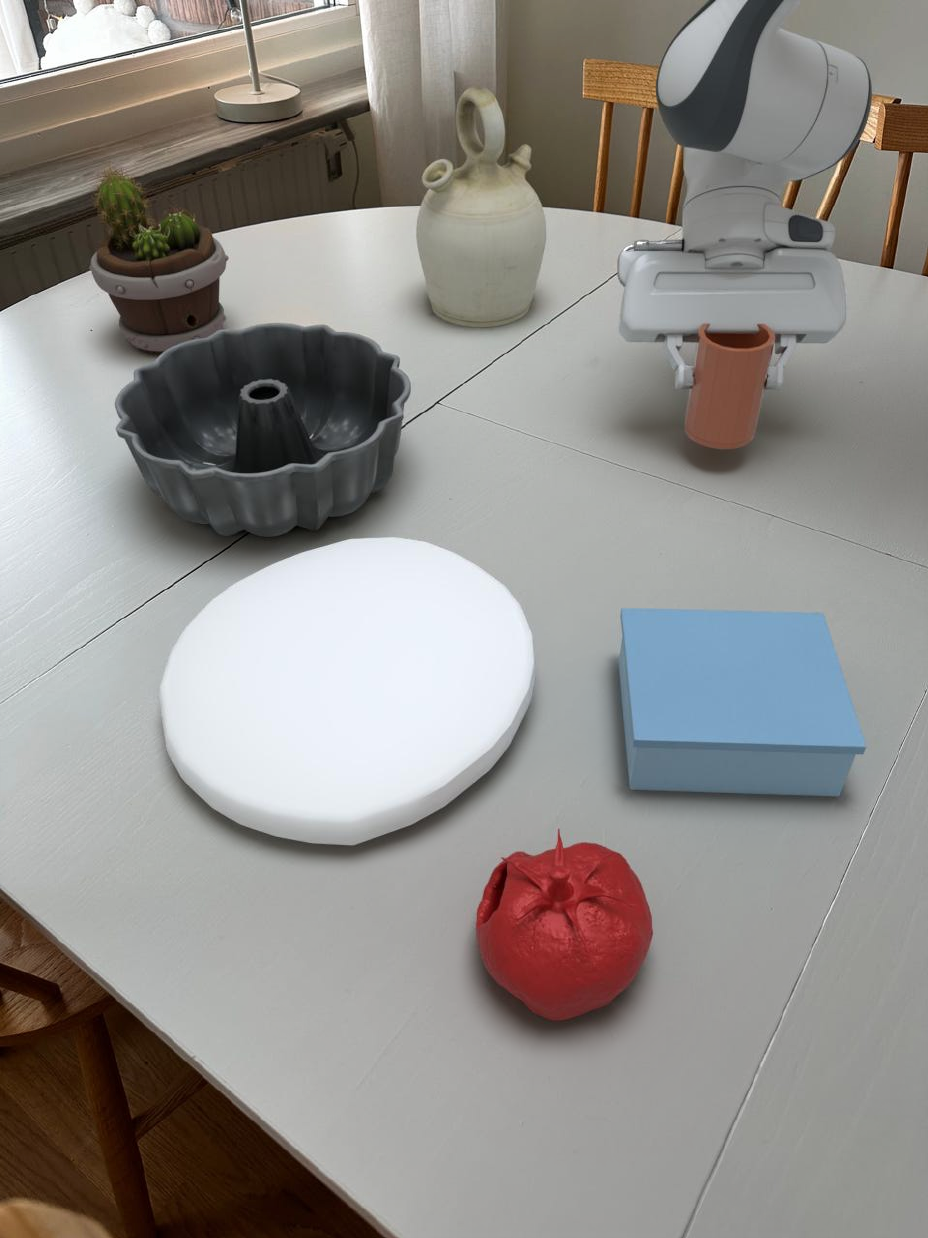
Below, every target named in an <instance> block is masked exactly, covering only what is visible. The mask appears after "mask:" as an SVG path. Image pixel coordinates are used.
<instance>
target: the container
mask: <svg viewBox="0 0 928 1238" xmlns="http://www.w3.org/2000/svg"><path fill="white" fill-rule="evenodd" d="M619 615H620V627H621V642H620V651H619V658H618V674H619V685H620V695H621V706H622V707H621V708H622V718H623V728H624V729H623V730H624V739H625V740H624V741H625V750H626V764H627V772H628V773H627V775H628V784H629V790H632V791H659V792H660V791H661V792H663V791H664V792H666V791H667V792H693V793H722V794H748V795H749V794H753V795H754V794H755V795H781V796H782V795H783V796H808V797H809V796H811V797H812V796H814V797H840V796H841V793H842V790H843V787H844V785H845V783H846V780H847V778H848V775H849V773H850V770H851V769H852V765H853V763H854V761H855V758H856V756H857V755H864V754H865V752H866V749H867V743H866V742H865V741H866V740H865V738H864V735H863V732H862V729H861V726H860V723H859V720H858V716H857V713H856V710H855V707H854V704H853V700H852V697H851V695H850V690H849V688H848V685H847V682H846V679H845V677H844V673H843V670H842V667H841V664H840V661H839V658H838V654H837V650H836V648H835V646H834V642H833V639H832V636H831V632H830V630H829V629H830V628H829V627H828V623H827V621H826V617H825V614H824V613H823V612H805V611H804V612H801V611H800V612H799V611H798V612H797V611H792V612H791V611H762V610H761V611H760V610H759V611H758V610H722V609H721V610H720V609H719V610H717V609H716V610H715V609H681V608H680V609H679V608H678V609H676V608H640V607H639V608H638V607H637V608H635V607H632V608H631V607H621V608H620V614H619Z"/></svg>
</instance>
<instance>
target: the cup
mask: <svg viewBox="0 0 928 1238" xmlns="http://www.w3.org/2000/svg"><path fill="white" fill-rule="evenodd" d="M709 325H710V324H702V325H701V327H700V329H699V330H698V336H697V343H695V349H694V350H695V351H694V357H693V364H692V366H694V374H693V376H694V386H693V387H692V388H691V389H688V390H689V391H688V397H687V403H686V409H685V415H684V416H685V417H684V432H685V434H686V435H687V437H688V438H689V439H690V440H692V441H693V442H694V443H696V444H699V445H701V446H703V447H707V448H711V449H716V450H732V449H738V448H743V447H744V446H746V445H748V444H750V443H751V442H752V441H753V439H754V438H755V435H756V431H757V427H758V423H759V417H760V413H761V409H762V404H763V399H764V393H765V391H766V389H765V385H766V380H767V375H768V371H769V366H771V362H772V361H771V360H772V356H773V351H774V348H775V343H774V342H775V335H774V332H773V330H772V329H770V328H769V327H768V326H766V325H765V324H757V326H758V328H759V332H758V333H756V334H708V333H707V329H708V327H709Z"/></svg>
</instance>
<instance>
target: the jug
mask: <svg viewBox="0 0 928 1238" xmlns="http://www.w3.org/2000/svg"><path fill="white" fill-rule="evenodd" d="M476 109H477V110H478V113H479V115H480V118H481V121H482V127H483V131H484V132H483V133H484V145H483V143H482V142H481V140H480V137H479V134H478V131H477V125H476ZM455 125H456V133H457V138H458V141H459V144H460V146H461V148H462V151H464V153H465V156H466V160H465V162H464V164H462V165H461V166H460V167H457V168H455V169H454V166H453V163H452V161H450V160H449V159H447V158H439V159H437V160H435V161H433V162H431V163H430V164H429V165H428V166H427V167H426V168H425V170H424V171H423V174H422V176H421V183H422V185H423V186H424V187H425V189H428V190H427V191H426V193H425V195H424V196H423V200H422V201H421V204H420V207H419V211H418V214H417V219H416V226H415V227H416V228H415V235H416V236H415V237H416V246H417V253H418V256H419V260H420V261H419V262H420V265H421V269H422V273H423V276H424V280H425V281H424V282H425V285H426V292H427V296H428V299H429V303H430V304H431V309H432V312H433V313H434V315H436V317H437V318H439V319H441V320H442V321H445V322H447V323H450V324H452V325H455V326H456V325H457V326H461V327H467V328H493V327H500V326H504V325H508V324H511V323H513V322H515V321H518V320H520V319H522V318H523V317H524V316H526V314H528V312H529V310H530V307H531V303H532V301H533V297H534V294H535V291H536V288H537V283H538V279H539V276H540V273H541V268H542V264H543V258H544V254H545V249H546V243H547V222H546V221H547V220H546V215H545V212H544V208H543V205H542V203H541V200H540V198H539V196H538V194H537V193H536V191H535V190H534V188H533V187H532V186H531V184H530V183H529V182H528V181H527V180H526V173H527V172H529V171H530V170H531V169H532V164H531V162H530V161H531V157H532V147H530V146H529V145H528V144H527V143H524V144H522V145H520V147H519V148H517V150H516V151H514V152H513V153H510V154H508V162H507V163H506V164H504V165H499V164H498V160H499V159H500V157H501V155H502V154H503V151H504V148H505V143H506V141H505V140H506V128H505V120H504V116H503V111H502V109H501V107H500V104H499V101H498V100H497V97H495V95H494V94H493V93H492V92H491V91H490V89H488V88H486V87H485V86H480V85H475V86H474V85H473V86H471V87H468V88H467V89H466V90H465V91H464V92H463V93H462V94H461V96H460V97H459V99H458V102H457V106H456V113H455Z"/></svg>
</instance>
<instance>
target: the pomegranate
mask: <svg viewBox="0 0 928 1238" xmlns="http://www.w3.org/2000/svg"><path fill="white" fill-rule="evenodd" d="M560 830H561V829H560V828H558V829H557V842H556V845H555V847H554V848H551V849H547V850H545V851H543V852H541V853H538V854H535V855H532V854H529V853H527V852H525V851H521V850H519V851H515V852H513V853H511V854H510V855H509V856H507V857H502V856H500V859H501V860H502V861H501V862H499V864H498V865H497V866H496V867H494V869H493V870H492V872H491V873H490V877H489V879H488V881H487V883H486V885H485V886H484V889H483V893H482V897H481V900H480V901H479V904H478V906H477V908H476V909H477V910H476V921H475V934H476V940H477V943H478V944H477V945H478V950H479V954H480V957H481V959H482V962H483V964H484V965H483V966H484V967H485V969H486V971H487V972H488V974H489V975H490V976H491V977H492V978H493V980H494V981H495V983H497V985H498V986H500V987H502V988H504V989H505V990H506V991H507V992H508V993H510V994H511V995H512V996H513V997H515V998H516V999H518V1000H520V1001H522V1002H523V1004H524V1005H525V1006H526V1007H527V1008H528V1009H529V1010H530V1012H532V1013H533V1014H534V1015H535V1014H536V1015H538V1016H541V1017H543V1018H545V1019H546V1020H548V1021H565V1020H569V1019H572V1018H575V1017H578V1016H582V1015H583V1014H586V1013H589V1012H591V1011H593V1010H599V1009H601V1008H602V1007H605V1006H607V1005H609V1004H610V1003H611V1002H612V1001H614V999H615V998H616V997H617V996H618V995H619V994H621V993H622V992H623V991H625V990H626V989H627V988H628V987H629V986H630V985H631V983H632V982H633V980H634V979H635V977H637V975H638V973H639V972H640V969H641V967H642V966H643V963H644V962H645V959H646V957H647V954H648V952H649V949H650V946H651V943H652V940H653V935H654V929H653V915H652V912H651V908H650V905H649V903H648V901H647V900H648V899H647V896H646V893H645V890H644V888H643V885H642V882H641V881H640V878H639V877H638V875H637V874H636V873H635V871H634V870H633V869H632V868H631V866H630V864H629V862H628V861H627V858H625V856H623V855H622V854H621V853H620V852H617V851H616V850H612V849H610V848H608V847H607V846H603V845H602V844H599V843H596V842H586V841H584V842H577V843H574V844H572V845H569V846H567V847H564V845H563V840H562V838H561V833H560V832H561V831H560Z"/></svg>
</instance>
